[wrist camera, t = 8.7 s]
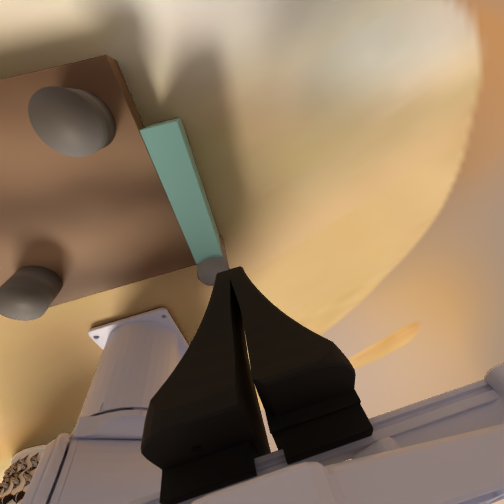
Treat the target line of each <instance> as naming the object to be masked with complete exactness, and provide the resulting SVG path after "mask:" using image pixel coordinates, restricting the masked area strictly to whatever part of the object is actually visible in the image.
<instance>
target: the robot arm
mask: <svg viewBox="0 0 504 504" xmlns="http://www.w3.org/2000/svg"><path fill="white" fill-rule="evenodd" d="M163 315H166V316H163ZM244 330H245V331H244ZM88 335H89V336H90V337H91V338H92V339H93V340H94V341H95V342H96V343H97V344H98V345H99V346H100V347H101V348H102V349H103V352H102V355H101V358H100V360H99V363H98V366H97V369H96V371H95V374H94V377H93V379H92V382H91V385H90V388H89V390H88V393H87V396H86V398H85V401H84V404H83V406H82V409H81V412H80V415H79V417H78V420H77V423H76V425H75V427H74V429H73V431H72V433H71V434H69V433H61V434H59V436H58V437H57V438H55V439H54V440H52V441H51V442H50V443H48V444H47V446H46V448H45V450H44V452H43V454H42V457H41V459H40V461H39V463H38V466H37V468H36V470H35V472H34V475H33V477H32V479H31V481H30V484H29V486H28V488H27V490H26V493H25V495H24V497H23V500H22V502H21V504H492V503H494V502H497V501H499V500H501V499H504V363H501V364H498V365H496V366H494V367H493V368H491V369H490V370H489V371H488V372H487V373H486V375H485V377H484V380H481V381H478V382H475V383H472V384H469V385H466V386H463V387H460V388H457V389H454V390H452V391H449V392H446V393H443V394H440V395H437V396H434V397H431V398H428V399H425V400H423V401H420V402H417V403H414V404H411V405H408V406H405V407H402V408H400V409H397V410H394V411H391V412H388V413H385V414H382V415H379V416H376V417H373V418H370V419H368V417H367V416H366V414H365V412H364V410H363V408H362V407H361V405H360V402H361V401H360V399H359V397H358V395H357V393H356V391H355V390H354V385H355V370H354V368H353V366H352V365H351V363H350V362H349V360H348V359H347V358H346V356H345V355H344V354H343V353H342V352H341V350H340V349H339V348H338V347H337V346H336V345H335V344H334V343H333V342H332V341H330V340H328V339H326V338H324V337H322V336H320V335H318V334H316V333H314V332H312V331H311V330H309V329H307V328H306V327H304V326H302V325H301V324H299V323H298V322H296V321H295V320H293V319H292V318H290V317H289V316H287V315H286V314H285V313H283V312H282V311H281V310H279V309H278V308H277V307H276V306H274V305H273V304H272V303H271V302H270V301H269V300H268V299H267V298H266V297H265V296H264V295H263V294H262V293H261V292H260V291H259V290H258V289H257V288H256V287H255V286H254V284H253V283H252V282H251V281H250V279H249V278H248V277H247V275H246V273H245V272H244V270H243V267H240V266H239V267H236V268H233V269H229V270H226V271H222V272H219V273H217V274H216V278H215V283H214V287H213V291H212V295H211V298H210V301H209V304H208V307H207V309H206V312H205V315H204V317H203V320H202V322H201V324H200V326H199V328H198V330H197V333H196V335H195V336H194V338H193V340H192V342H191V344H190V345H188V343H187V342H186V340H185V338H184V337H183V335H182V333H181V332H180V330H179V329H178V327H177V325H176V324H175V322H174V320H173V319H172V317H171V315H170V314H169V312H168V310H167V309H166V308H158V309H155V310H151V311H148V312H145V313H141V314H138V315H135V316H131V317H128V318H125V319H121V320H118V321H115V322H111V323H108V324H105V325H101V326H98V327H95V328H91V329H90V330H89V332H88ZM96 335H97V336H96ZM245 335H246V338H245ZM246 341H247V346H246ZM247 347H248V353H249V359H250V364H249V359H248V353H247ZM250 366H251V368H250ZM254 384H255V385H254ZM255 387H256V389H257V392H258V394H259V397H260V399H261V402H262V404H263V407H264V409H265V412H266V417H267V421H268V426H269V430H270V433H271V434H272V436H273V438H274V440H275V443H276V445H277V448H278V451H275V452H272V453H271V451H270V447H269V444H268V439H267V435H266V431H265V427H264V423H263V419H262V415H261V411H260V406H259V402H258V398H257V394H256V390H255ZM351 458H352V459H351ZM348 459H351V460H348ZM346 460H348V461H346ZM343 461H344V462H343Z"/></svg>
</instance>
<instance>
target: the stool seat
mask: <svg viewBox="0 0 504 504" xmlns="http://www.w3.org/2000/svg"><path fill="white" fill-rule="evenodd" d="M143 128H144V126H143V123H142V121H141V118H140V116H139V114H138V111H137V109H136V106H135V104H134V102H133V99H132V97H131V94H130V92H129V90H128V87H127V85H126V82H125V80H124V78H123V75H122V73H121V70H120V68H119V66H118V63H117V61H116V60H114V59H112V58H110V57H109V56H107V55H104V56H100V57H95V58H91V59H87V60H83V61H78V62H74V63H70V64H66V65H61V66H57V67H53V68H48V69H44V70H40V71H36V72H31V73H27V74H23V75H19V76H14V77H10V78H6V79H1V80H0V314H1V315H3V316H5V317H8V318H11V319H15V320H24V321H26V320H34V319H37V318H39V317H41V316H42V315H43V314H44V313H45V312H46V310H47V309H48V307H52V306H55V305H59V304H62V303H65V302H69V301H72V300H76V299H79V298H83V297H86V296H89V295H93V294H96V293H100V292H103V291H107V290H110V289H113V288H117V287H120V286H124V285H127V284H131V283H134V282H137V281H141V280H144V279H148V278H151V277H155V276H158V275H161V274H165V273H168V272H172V271H175V270H179V269H182V268H185V267H189V266H192V265H196V262H195V260H194V258H193V255H192V253H191V250H190V248H189V246H188V243H187V241H186V239H185V236H184V234H183V232H182V229H181V227H180V225H179V222H178V220H177V218H176V215H175V213H174V211H173V208H172V206H171V203H170V201H169V199H168V196H167V194H166V192H165V189H164V187H163V185H162V182H161V180H160V178H159V175H158V173H157V171H156V168H155V166H154V163H153V161H152V159H151V156H150V154H149V152H148V149H147V147H146V145H145V142H144V140H143V138H142V135H141V133H140V131H139V130H141V129H143Z"/></svg>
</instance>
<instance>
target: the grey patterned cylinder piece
mask: <svg viewBox="0 0 504 504" xmlns="http://www.w3.org/2000/svg"><path fill="white" fill-rule="evenodd" d="M46 446H47V445H38V446H34V447H30V448H26V449H24V450H22V451H20V452H18V453H16V454H15V456H14V457H13V458H12V460H11V466H10V468H8V469H7V470H6V471H5V472H4V474H5V475H4V477H3V481H2V483H1V484H0V504H21V502H22V500H23V497H24V495H25V493H26V490H27V488H28V486H29V484H30V481H31V479H32V477H33V475H34V472H35V470H36V468H37V466H38V463H39V461H40V459H41V457H42V454H43V452H44V450H45V448H46Z"/></svg>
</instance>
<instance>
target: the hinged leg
mask: <svg viewBox="0 0 504 504" xmlns="http://www.w3.org/2000/svg"><path fill="white" fill-rule="evenodd" d="M139 131H140V133H141V135H142V138H143V140H144V142H145V145H146V147H147V149H148V152H149V154H150V156H151V159H152V161H153V163H154V166H155V168H156V171H157V173H158V175H159V178H160V180H161V182H162V185H163V187H164V189H165V192H166V194H167V196H168V199H169V201H170V203H171V206H172V208H173V211H174V213H175V215H176V218H177V220H178V222H179V225H180V227H181V229H182V232H183V234H184V236H185V239H186V241H187V243H188V246H189V248H190V250H191V253H192V255H193V258H194V260H195V262H196V264H197V275H198V278H199V280H200V281H201V282H202V283H204V284H206V285H210V286H214V283H215V278H216V274H217V273H219V272H222V271H226V270H229V265H228V261H227V256H226V251H225V246H224V242H223V239H222V237H221V236H220V235H219V234H218V230H217V227H216V224H215V221H214V218H213V215H212V212H211V209H210V206H209V203H208V200H207V197H206V193H205V190H204V187H203V184H202V181H201V178H200V175H199V172H198V169H197V166H196V163H195V160H194V157H193V154H192V151H191V147H190V144H189V141H188V138H187V135H186V132H185V129H184V126H183V123H182V120H181V117H180V118H176V119H172V120H168V121H164V122H160V123H156V124H152V125H150V126H148V127H145V128H143V129H141V130H139Z"/></svg>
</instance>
